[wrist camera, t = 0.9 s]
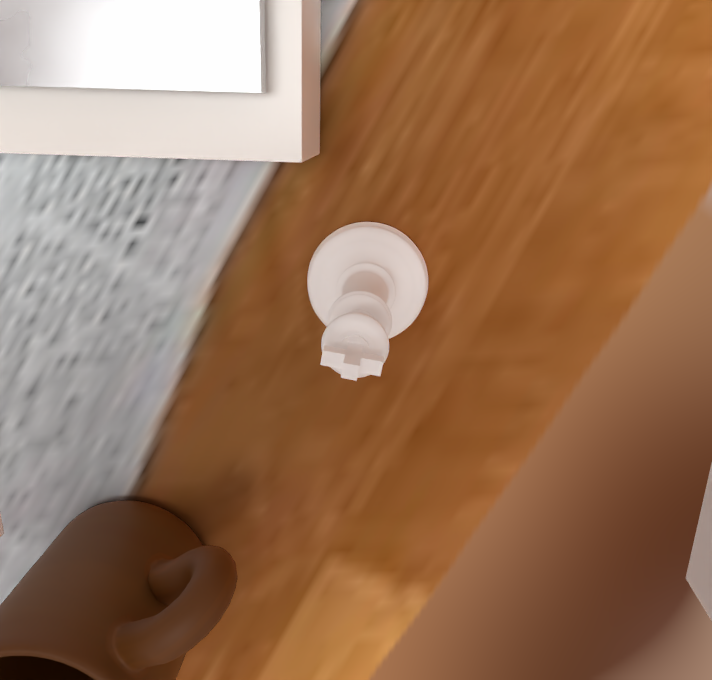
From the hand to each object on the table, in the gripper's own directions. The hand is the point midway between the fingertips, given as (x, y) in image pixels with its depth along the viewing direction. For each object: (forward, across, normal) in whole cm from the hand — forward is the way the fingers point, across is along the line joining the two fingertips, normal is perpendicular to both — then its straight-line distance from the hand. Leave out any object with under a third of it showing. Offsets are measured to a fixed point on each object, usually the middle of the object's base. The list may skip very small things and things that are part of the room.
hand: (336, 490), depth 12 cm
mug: (+16, -9, -13) cm, 23 cm away
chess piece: (+16, 0, 0) cm, 16 cm away
